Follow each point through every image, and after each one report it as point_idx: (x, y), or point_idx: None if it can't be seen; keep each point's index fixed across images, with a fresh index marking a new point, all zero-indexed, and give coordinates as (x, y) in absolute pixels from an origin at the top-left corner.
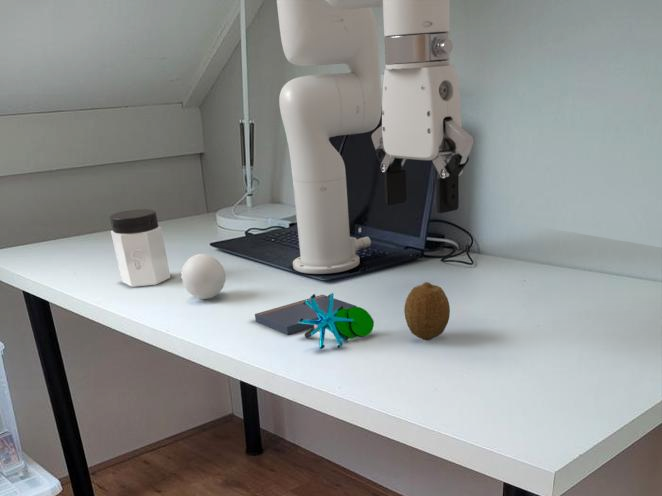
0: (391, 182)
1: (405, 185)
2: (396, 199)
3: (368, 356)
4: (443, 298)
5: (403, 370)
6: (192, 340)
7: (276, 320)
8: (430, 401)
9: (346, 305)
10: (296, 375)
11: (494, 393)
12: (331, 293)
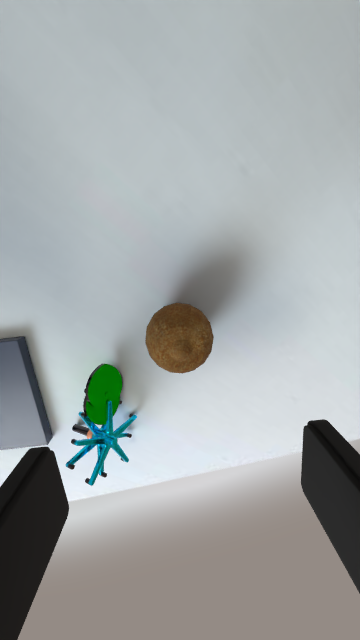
0: (24, 600)
1: (16, 505)
2: (56, 498)
3: (175, 403)
4: (209, 333)
5: (234, 396)
6: None
7: (14, 444)
8: (309, 416)
9: (7, 350)
10: (170, 474)
11: (343, 364)
12: (77, 445)
